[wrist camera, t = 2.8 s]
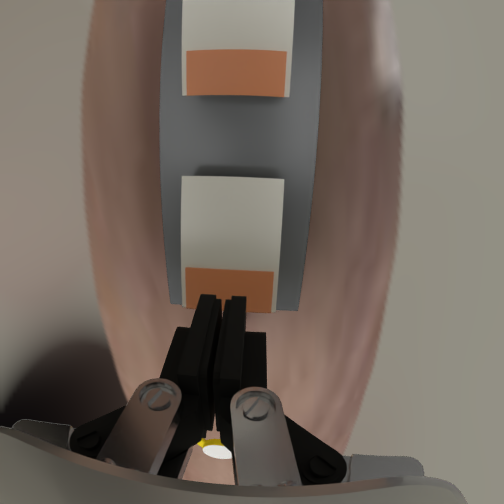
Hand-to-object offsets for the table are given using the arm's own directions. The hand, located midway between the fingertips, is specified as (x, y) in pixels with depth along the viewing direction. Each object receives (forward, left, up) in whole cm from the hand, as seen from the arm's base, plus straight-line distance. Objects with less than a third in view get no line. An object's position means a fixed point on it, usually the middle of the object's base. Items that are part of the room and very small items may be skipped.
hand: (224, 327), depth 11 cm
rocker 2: (-2, 0, -3) cm, 4 cm away
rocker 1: (-11, 0, -3) cm, 12 cm away
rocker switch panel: (-5, 0, -9) cm, 10 cm away
